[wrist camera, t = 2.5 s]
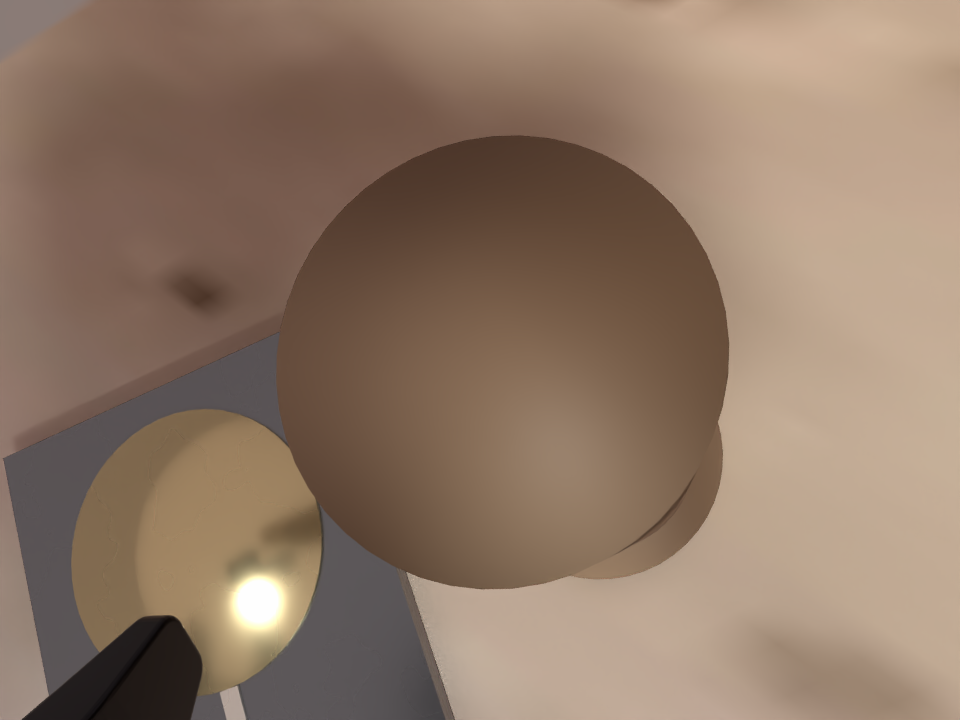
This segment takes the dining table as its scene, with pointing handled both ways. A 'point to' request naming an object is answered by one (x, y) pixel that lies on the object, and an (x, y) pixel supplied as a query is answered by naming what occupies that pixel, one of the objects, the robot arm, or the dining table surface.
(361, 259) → the walnut post
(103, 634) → the gauge plate
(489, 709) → the dining table surface
